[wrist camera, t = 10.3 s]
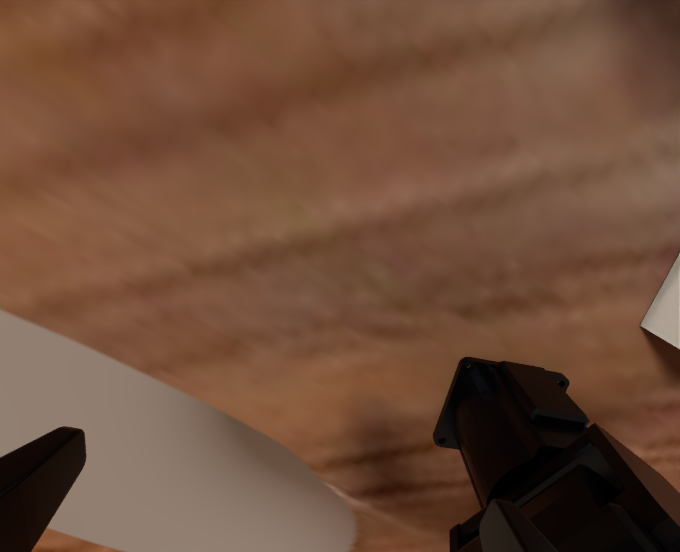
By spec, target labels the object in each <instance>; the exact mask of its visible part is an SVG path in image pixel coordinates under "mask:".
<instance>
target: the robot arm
mask: <svg viewBox="0 0 680 552" xmlns="http://www.w3.org/2000/svg"><path fill="white" fill-rule="evenodd" d="M467 365H471V366H470V367H469V368H465V367H466V366H467ZM558 381H560V382H559V383H557V382H558ZM568 386H569V380H568V379H567V378H566V377H565V376H564V375H563V374H561V373H557V372H551V371H546V370H545V369H544V368H541V367H535V366H530V365H524V364H518V363H513V362H507V361H501V362H495V361H489V360H484V359H478V358H472V357H465V358H463V359H461V360H460V362H459V364H458V367H457V370H456V372H455V375H454V378H453V381H452V383H451V386H450V389H449V392H448V395H447V397H446V400H445V403H444V406H443V408H442V411H441V414H440V417H439V420H438V422H437V425H436V428H435V431H434V433H433V439H434V442H435V444H436V445H437V446H440V447H446V448H452V449H458V450H460V453H461V456H462V458H463V461H464V464H465V466H466V469H467V472H468V474H469V477H470V480H471V483H472V485H473V488H474V491H475V493H476V496H477V499H478V501H479V504H480V507H481V509H482V510H480V511H479V512H477V513H476V514H475V515H473V516H472V517H471V518H469V519H468V520H467V521H465V522H464V523H463V524H461V525H460V524H457V525H456V526H454V527H453V528H452V529H450V552H680V493H679V492H678V491H677V490H676V489H675V488H674V487H673V486H672V485H671V484H670V483H669V482H668V481H667V480H666V479H665V478H664V477H663V476H662V475H661V474H659V473H658V472H657V471H656V470H654V469H653V468H652V467H651V466H649V465H648V464H647V463H646V462H644V461H643V460H642V459H640V458H639V457H638V456H637V455H635V454H634V453H633V452H632V451H630V450H629V449H628V448H627V447H625V446H624V445H623V444H622V443H620V442H619V441H618V440H616V439H615V438H614V437H613V436H611V435H610V434H609V433H608V432H606V431H605V430H604V429H603V428H601V427H600V426H599V425H597V424H596V423H594V424H592V425H591V426H590V427H588V428H587V425H588V423H589V420H588V418H587V416H586V415H585V414H584V413H583V412H582V410H581V409H580V408H579V407H578V406H577V405H576V404H575V403H574V401H573V400H572V399H571V398H570V397H569V396H568V395H567V394H566V393H565V392H566V390H567V388H568ZM442 437H444V438H442ZM439 438H442V439H439ZM85 462H86V445H85V433H84V431H83V430H82V429H78V428H72V427H60V428H57V429H55V430H53V431H51V432H49V433H47V434H45V435H43V436H41V437H39V438H38V439H36V440H34V441H32V442H30V443H28V444H26V445H24V446H22V447H20V448H18V449H16V450H14V451H12V452H10V453H8V454H6V455H4V456H2V457H0V552H31V551H32V549H33V548H34V546H35V545H36V543H37V542H38V540H39V539H40V537H41V535H42V534H43V532H44V531H45V529H46V527H47V526H48V524H49V523H50V521H51V519H52V518H53V516H54V514H55V513H56V511H57V510H58V508H59V506H60V505H61V503H62V502H63V500H64V498H65V497H66V495H67V493H68V492H69V490H70V489H71V487H72V485H73V483H74V482H75V480H76V479H77V477H78V476H79V474H80V472H81V471H82V469H83V467H84V465H85Z"/></svg>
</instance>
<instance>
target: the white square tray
mask: <svg viewBox="0 0 680 552" xmlns="http://www.w3.org/2000/svg"><path fill="white" fill-rule="evenodd" d="M640 326H642V327H643V328H645V329H647V330H648V331H650V332H652V333H653V334H655V335H657V336H658V337H660V338H662V339H663V340H665V341H667V342H668V343H670V344H672V345H673V346H675V347H677V348H678V349H680V254H679V256H678V257H677V259H676V261H675V263H674V265H673V266H672V268H671V270H670V272H669V274H668V276H667V277H666V279H665V281H664V283H663V285H662V286H661V288H660V290H659V292H658V294H657V295H656V297H655V299H654V301H653V303H652V305H651V306H650V308H649V310H648V312H647V314H646V315H645V317H644V319H643V321H642V323H641V325H640Z"/></svg>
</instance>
